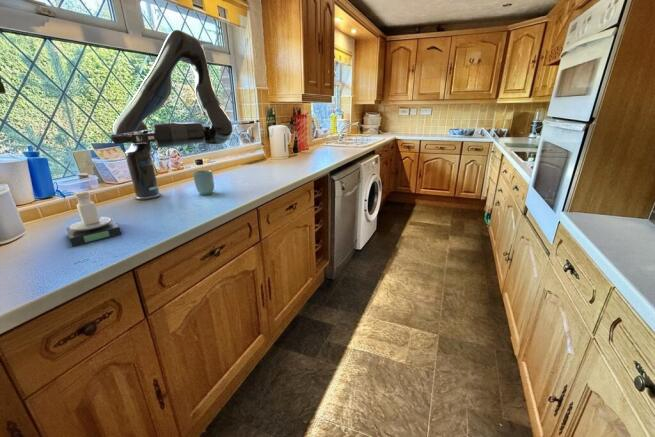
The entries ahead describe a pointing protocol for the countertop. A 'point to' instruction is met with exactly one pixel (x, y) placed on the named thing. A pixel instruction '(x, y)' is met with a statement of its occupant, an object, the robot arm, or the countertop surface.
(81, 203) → the salt shaker
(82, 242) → the scale
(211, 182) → the cup
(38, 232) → the countertop surface
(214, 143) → the robot arm
